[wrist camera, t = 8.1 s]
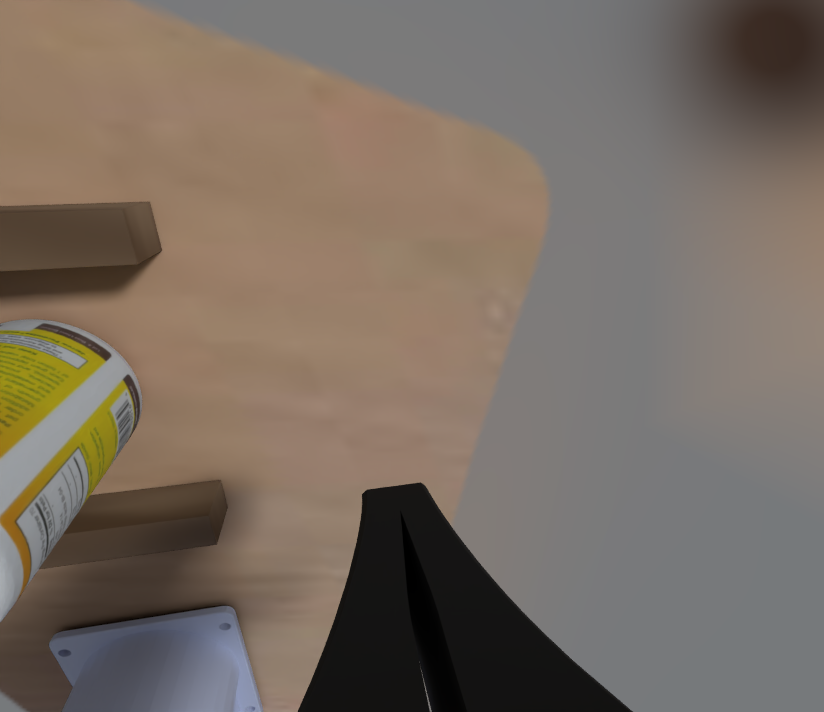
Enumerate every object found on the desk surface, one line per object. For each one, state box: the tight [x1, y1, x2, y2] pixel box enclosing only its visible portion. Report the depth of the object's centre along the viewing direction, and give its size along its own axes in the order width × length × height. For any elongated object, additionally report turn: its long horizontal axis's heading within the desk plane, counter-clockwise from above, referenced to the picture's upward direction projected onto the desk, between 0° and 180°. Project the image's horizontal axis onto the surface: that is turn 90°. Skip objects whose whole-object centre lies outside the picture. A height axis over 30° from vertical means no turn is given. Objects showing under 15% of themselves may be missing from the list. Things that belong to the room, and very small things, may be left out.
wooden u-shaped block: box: [0, 202, 228, 569], centre depth 15 cm, size 12×11×2 cm
